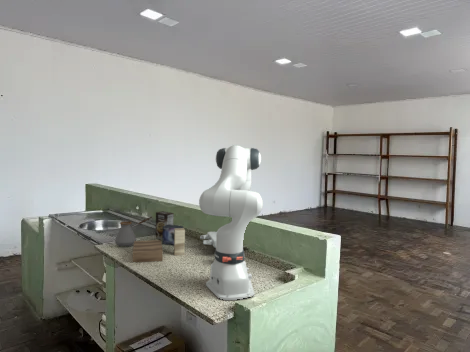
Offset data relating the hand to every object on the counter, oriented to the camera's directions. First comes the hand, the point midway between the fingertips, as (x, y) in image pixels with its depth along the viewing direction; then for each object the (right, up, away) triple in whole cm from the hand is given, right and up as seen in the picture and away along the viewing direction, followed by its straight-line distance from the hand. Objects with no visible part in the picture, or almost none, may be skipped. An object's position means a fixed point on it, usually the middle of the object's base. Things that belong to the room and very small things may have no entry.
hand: (201, 239), depth 174 cm
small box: (-19, -6, +15) cm, 25 cm away
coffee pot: (-40, -5, +13) cm, 42 cm away
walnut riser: (-27, -7, -7) cm, 29 cm away
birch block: (-12, -7, -3) cm, 14 cm away
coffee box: (-26, -5, +27) cm, 37 cm away
